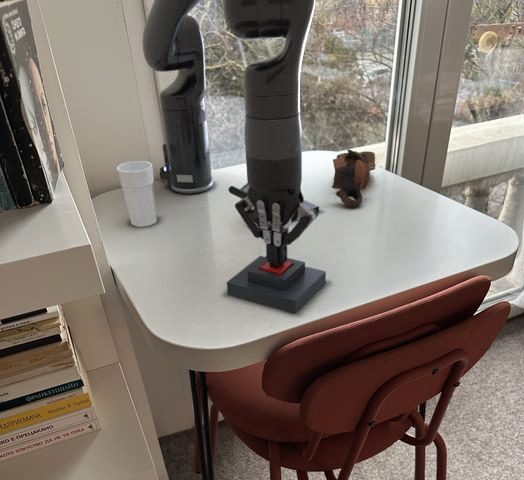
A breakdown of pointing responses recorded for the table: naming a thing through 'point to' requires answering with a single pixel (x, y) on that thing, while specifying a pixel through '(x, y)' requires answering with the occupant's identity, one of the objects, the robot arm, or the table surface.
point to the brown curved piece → (368, 154)
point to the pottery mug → (351, 178)
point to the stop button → (276, 270)
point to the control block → (277, 285)
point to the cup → (138, 191)
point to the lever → (239, 191)
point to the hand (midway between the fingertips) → (277, 264)
